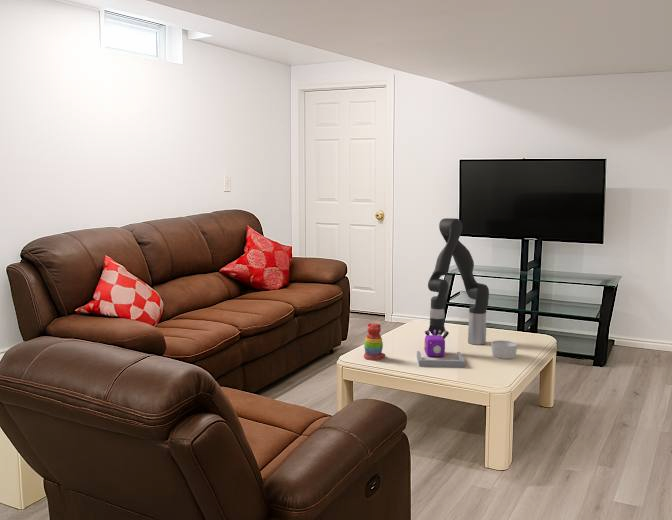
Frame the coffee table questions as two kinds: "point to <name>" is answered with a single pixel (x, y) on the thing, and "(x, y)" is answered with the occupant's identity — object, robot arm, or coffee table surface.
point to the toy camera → (434, 345)
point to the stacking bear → (373, 343)
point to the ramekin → (504, 349)
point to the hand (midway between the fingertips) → (436, 348)
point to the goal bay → (441, 361)
